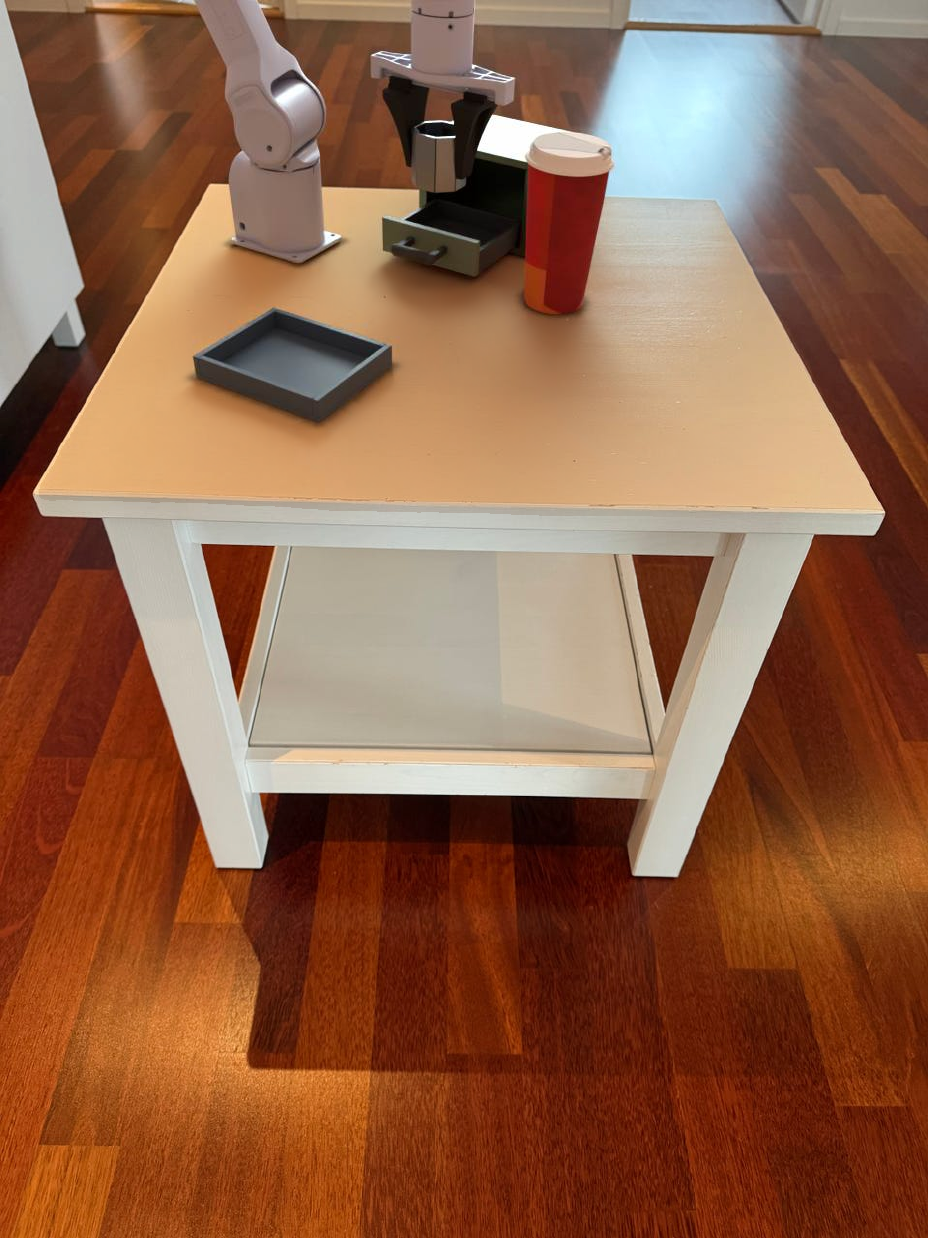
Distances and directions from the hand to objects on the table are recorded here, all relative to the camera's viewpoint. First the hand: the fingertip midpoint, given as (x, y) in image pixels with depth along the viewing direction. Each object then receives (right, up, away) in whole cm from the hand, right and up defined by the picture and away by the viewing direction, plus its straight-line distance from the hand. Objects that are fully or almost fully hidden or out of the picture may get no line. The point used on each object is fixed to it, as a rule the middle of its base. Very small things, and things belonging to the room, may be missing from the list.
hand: (438, 170), depth 92 cm
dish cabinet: (+6, +1, +16) cm, 17 cm away
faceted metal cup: (0, -1, +1) cm, 1 cm away
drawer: (+1, -5, +8) cm, 9 cm away
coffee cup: (+12, -12, +2) cm, 17 cm away
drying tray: (-13, -23, -10) cm, 28 cm away
